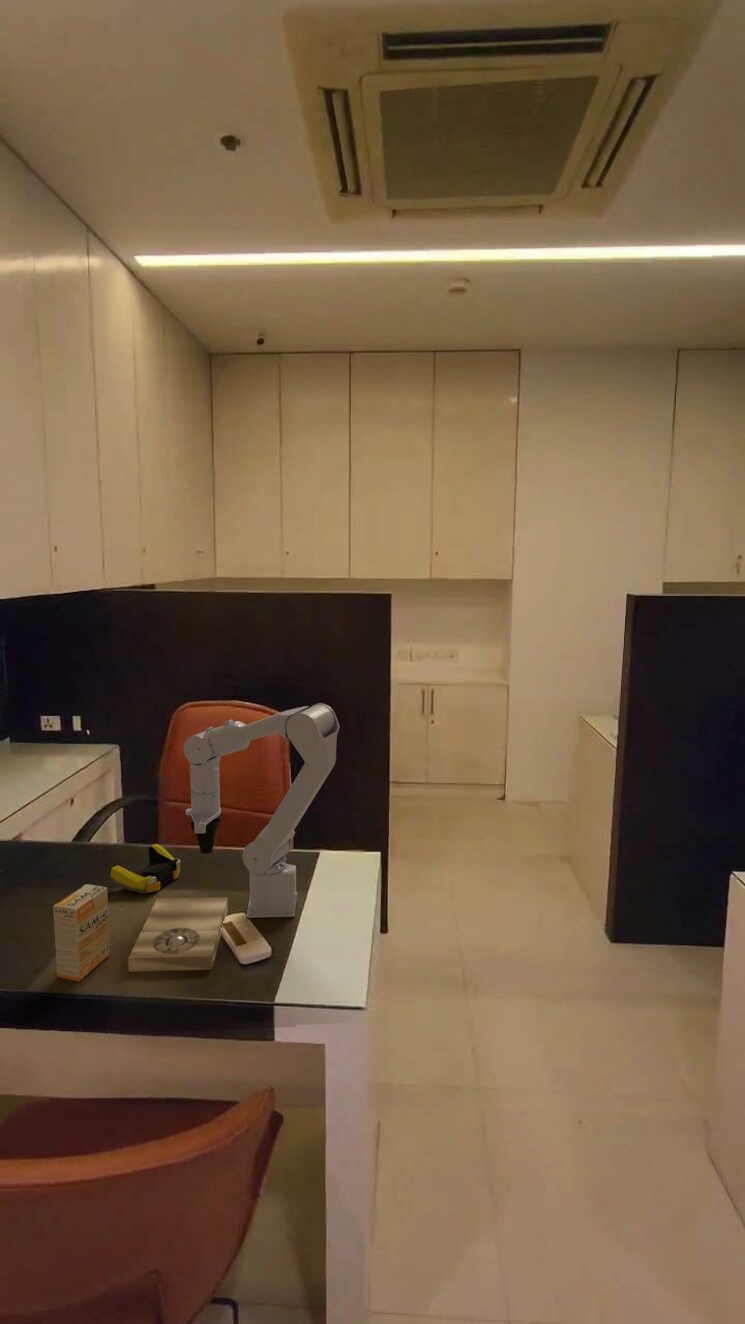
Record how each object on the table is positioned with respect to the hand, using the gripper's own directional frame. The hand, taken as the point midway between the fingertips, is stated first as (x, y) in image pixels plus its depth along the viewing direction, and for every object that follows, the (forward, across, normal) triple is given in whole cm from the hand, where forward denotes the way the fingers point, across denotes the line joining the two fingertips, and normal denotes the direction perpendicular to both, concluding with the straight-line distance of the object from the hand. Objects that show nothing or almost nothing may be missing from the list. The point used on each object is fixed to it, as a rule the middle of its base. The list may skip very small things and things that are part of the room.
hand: (206, 852), depth 140 cm
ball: (+8, +21, -2) cm, 22 cm away
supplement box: (+10, +24, -17) cm, 31 cm away
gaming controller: (+10, -6, -14) cm, 18 cm away
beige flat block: (+9, +16, -2) cm, 19 cm away
